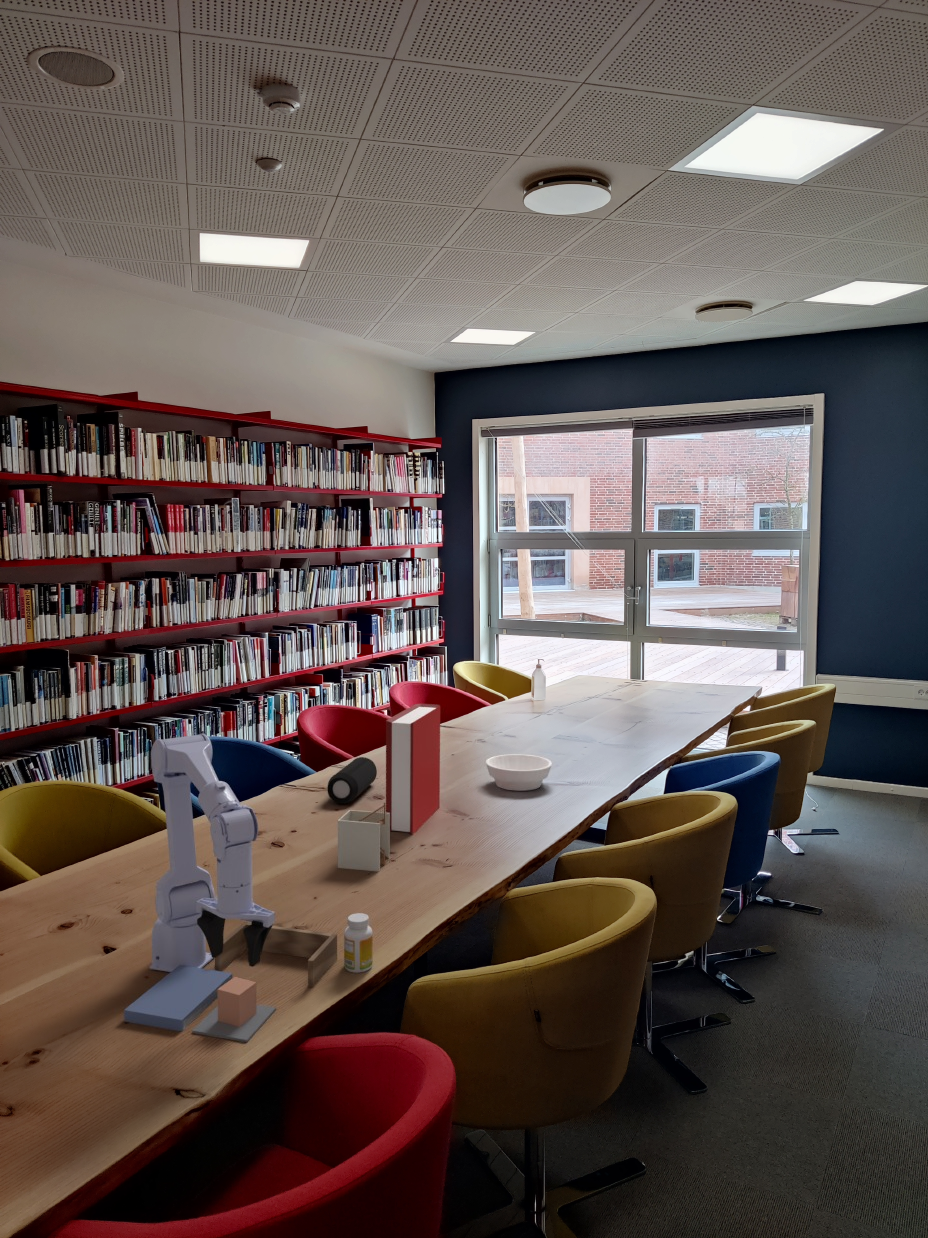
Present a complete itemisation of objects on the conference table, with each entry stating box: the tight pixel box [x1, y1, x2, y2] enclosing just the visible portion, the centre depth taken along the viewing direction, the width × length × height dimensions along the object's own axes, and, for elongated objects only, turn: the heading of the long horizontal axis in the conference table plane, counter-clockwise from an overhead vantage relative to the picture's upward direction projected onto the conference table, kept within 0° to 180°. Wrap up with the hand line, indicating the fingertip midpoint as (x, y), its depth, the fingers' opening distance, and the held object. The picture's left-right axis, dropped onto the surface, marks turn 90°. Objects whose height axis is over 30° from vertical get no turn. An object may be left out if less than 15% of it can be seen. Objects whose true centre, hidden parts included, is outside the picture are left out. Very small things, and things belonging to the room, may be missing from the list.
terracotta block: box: [217, 976, 257, 1027], centre depth 141 cm, size 4×4×6 cm
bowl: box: [485, 753, 553, 792], centre depth 284 cm, size 22×22×8 cm
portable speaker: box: [326, 756, 378, 805], centre depth 272 cm, size 26×10×10 cm, turn 169°
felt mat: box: [191, 1003, 277, 1043], centre depth 141 cm, size 10×10×1 cm
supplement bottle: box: [343, 912, 374, 974], centre depth 160 cm, size 5×5×10 cm
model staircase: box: [337, 802, 391, 872], centre depth 212 cm, size 9×11×17 cm
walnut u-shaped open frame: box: [214, 921, 338, 988], centre depth 160 cm, size 20×11×5 cm, turn 75°
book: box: [385, 703, 441, 836], centre depth 247 cm, size 27×8×32 cm, turn 165°
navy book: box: [123, 965, 233, 1032], centre depth 147 cm, size 16×11×2 cm
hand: (235, 959), depth 141 cm, fingers open, 7 cm apart
